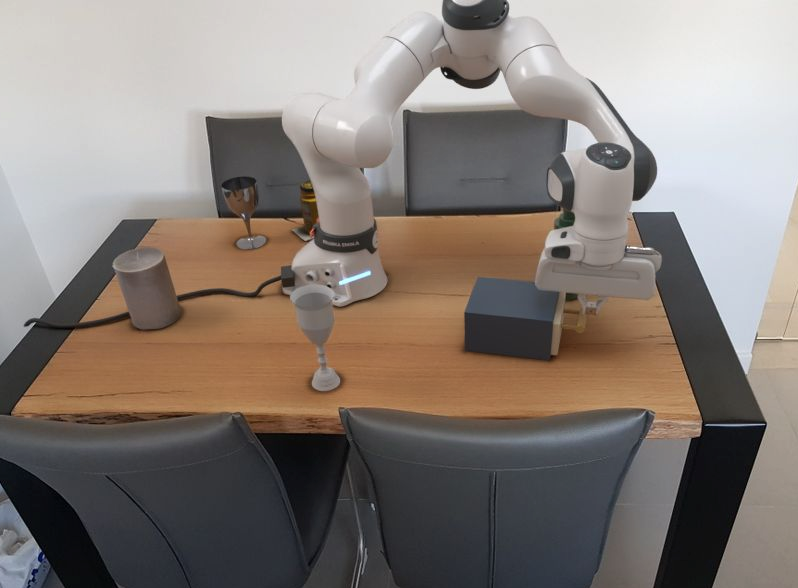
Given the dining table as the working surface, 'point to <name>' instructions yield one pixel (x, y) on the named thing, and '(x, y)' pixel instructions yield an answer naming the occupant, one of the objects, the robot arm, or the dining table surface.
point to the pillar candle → (147, 288)
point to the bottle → (561, 222)
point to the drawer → (559, 324)
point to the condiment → (307, 211)
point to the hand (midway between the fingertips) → (590, 313)
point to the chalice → (317, 327)
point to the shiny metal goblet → (243, 206)
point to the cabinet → (510, 318)
